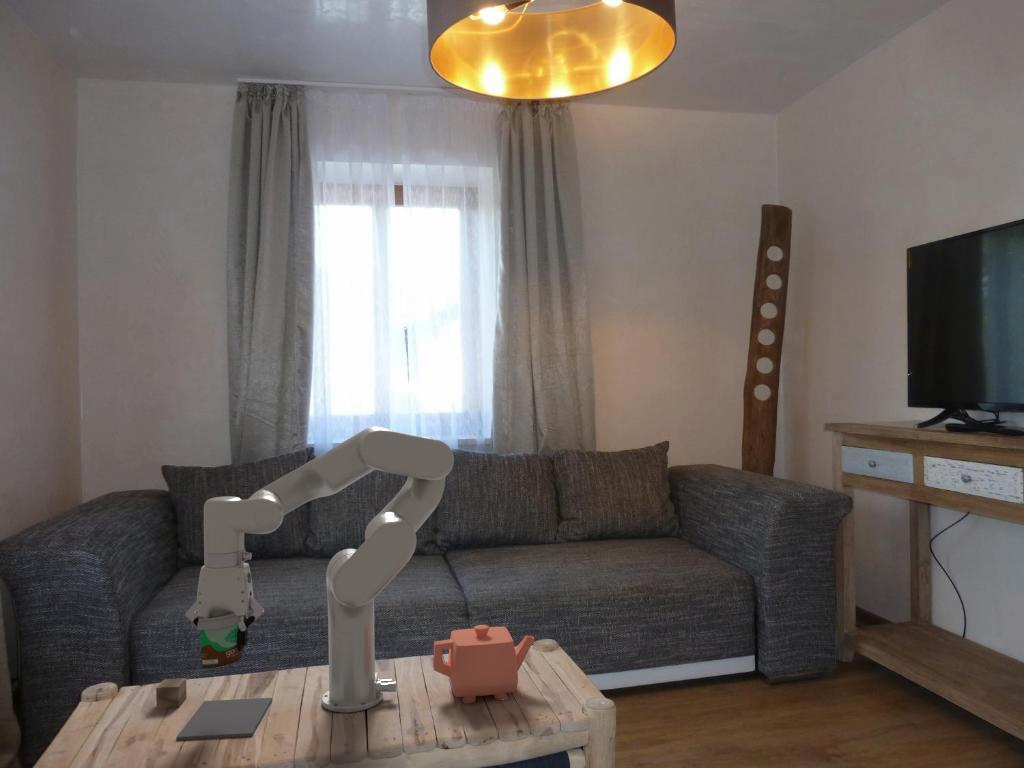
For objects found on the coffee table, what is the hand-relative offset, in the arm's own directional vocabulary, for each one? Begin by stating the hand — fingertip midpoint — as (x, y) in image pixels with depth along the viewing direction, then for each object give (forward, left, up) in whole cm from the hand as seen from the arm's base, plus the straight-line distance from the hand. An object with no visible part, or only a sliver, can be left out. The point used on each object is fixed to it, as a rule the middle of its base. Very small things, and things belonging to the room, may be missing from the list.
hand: (225, 648), depth 149 cm
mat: (0, 0, -14) cm, 14 cm away
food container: (-1, 0, -2) cm, 3 cm away
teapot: (-52, -7, -14) cm, 55 cm away
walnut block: (+14, -9, -14) cm, 22 cm away
